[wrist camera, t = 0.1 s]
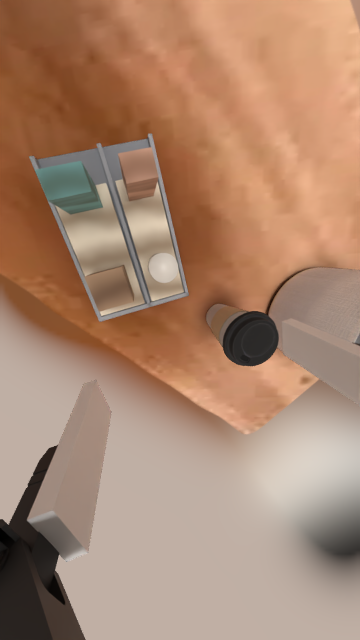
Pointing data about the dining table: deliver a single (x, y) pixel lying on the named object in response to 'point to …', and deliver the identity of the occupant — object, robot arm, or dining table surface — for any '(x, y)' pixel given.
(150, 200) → the strip
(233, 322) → the coffee cup
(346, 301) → the planter
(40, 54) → the dining table surface
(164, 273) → the stoneware cylinder
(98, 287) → the walnut cube
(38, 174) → the strip
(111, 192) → the lane board
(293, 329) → the robot arm
